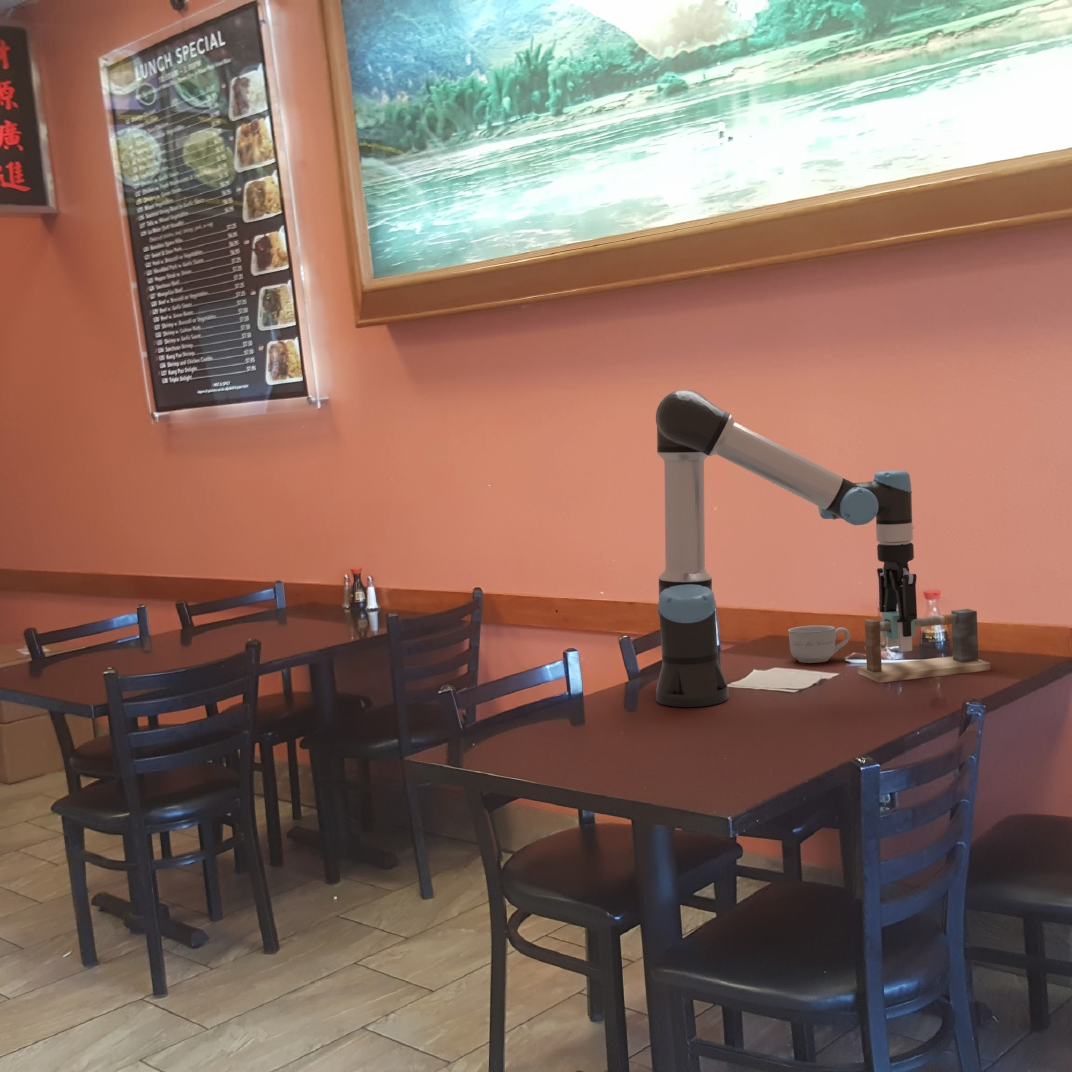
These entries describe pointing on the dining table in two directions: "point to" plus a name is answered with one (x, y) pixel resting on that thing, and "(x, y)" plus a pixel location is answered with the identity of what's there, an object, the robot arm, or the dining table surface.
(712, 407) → the robot arm
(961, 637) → the rod stand
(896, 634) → the sleeve
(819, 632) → the teacup
